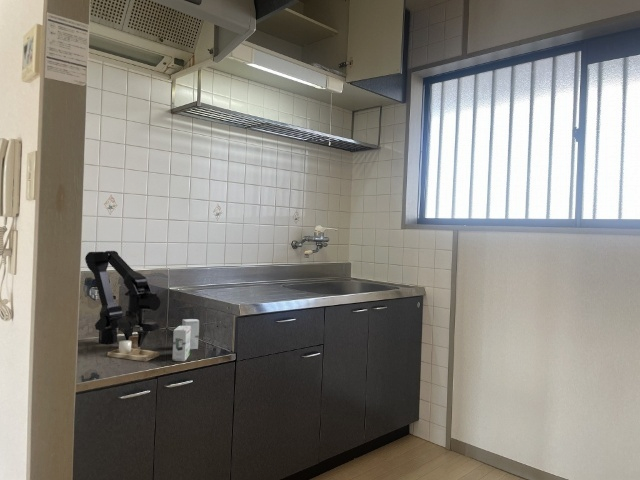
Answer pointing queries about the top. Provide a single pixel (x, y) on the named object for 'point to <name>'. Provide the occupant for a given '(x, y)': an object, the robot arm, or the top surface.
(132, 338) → the brown egg
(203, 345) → the top surface
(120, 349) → the cream egg
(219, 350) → the top surface
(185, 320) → the skincare box
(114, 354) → the egg tray
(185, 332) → the ink box
